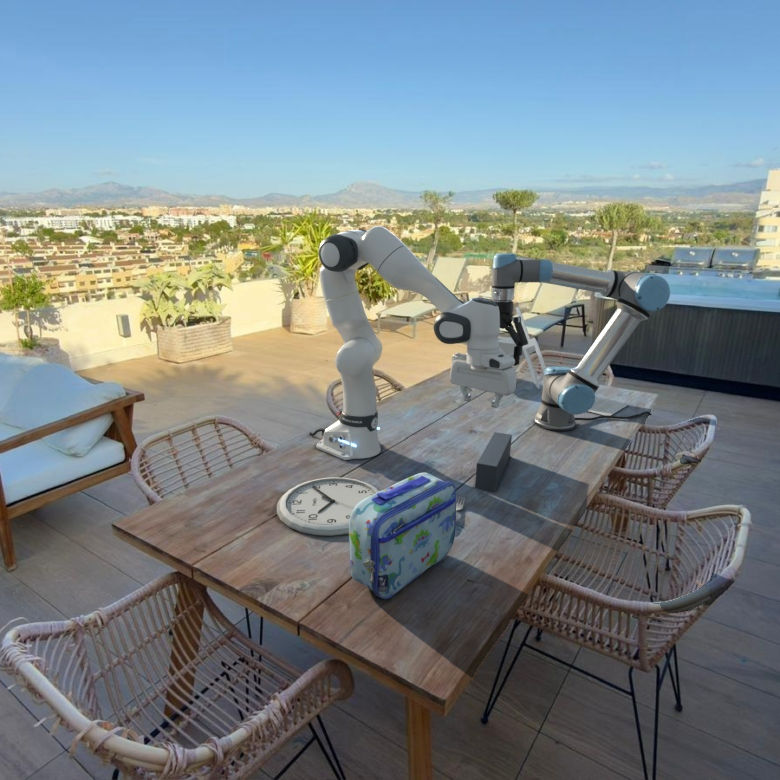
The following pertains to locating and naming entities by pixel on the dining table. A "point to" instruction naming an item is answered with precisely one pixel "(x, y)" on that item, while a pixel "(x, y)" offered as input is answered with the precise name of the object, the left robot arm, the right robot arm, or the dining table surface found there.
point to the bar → (493, 461)
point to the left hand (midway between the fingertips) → (480, 403)
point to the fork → (459, 506)
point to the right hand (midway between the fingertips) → (498, 361)
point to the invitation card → (606, 407)
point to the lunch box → (401, 532)
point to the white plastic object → (523, 349)
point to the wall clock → (323, 505)
